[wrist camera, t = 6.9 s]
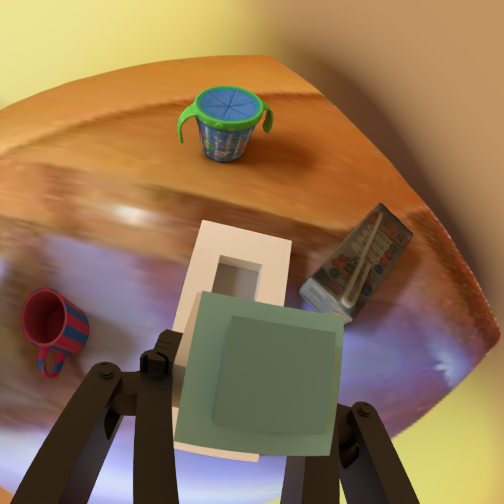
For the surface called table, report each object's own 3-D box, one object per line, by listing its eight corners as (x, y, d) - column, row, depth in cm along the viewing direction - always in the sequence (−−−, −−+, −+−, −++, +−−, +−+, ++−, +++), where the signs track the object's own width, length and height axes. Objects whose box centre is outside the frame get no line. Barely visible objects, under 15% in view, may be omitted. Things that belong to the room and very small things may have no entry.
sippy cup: (179, 174, 43) (178, 125, 34) (175, 132, 48) (175, 86, 39) (273, 168, 47) (289, 123, 38) (258, 128, 52) (269, 86, 43)
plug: (190, 402, 19) (168, 451, 4) (199, 352, 21) (203, 272, 6) (243, 411, 19) (351, 464, 5) (251, 362, 21) (365, 304, 7)
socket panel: (152, 436, 27) (148, 441, 24) (202, 231, 40) (202, 219, 37) (252, 456, 28) (257, 462, 25) (285, 251, 41) (291, 241, 38)
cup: (94, 310, 32) (74, 294, 26) (80, 385, 27) (56, 384, 21) (53, 300, 31) (29, 282, 25) (38, 370, 27) (11, 364, 21)
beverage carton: (292, 291, 38) (309, 273, 33) (363, 219, 47) (382, 197, 41) (333, 332, 37) (357, 321, 31) (395, 252, 45) (417, 233, 39)
